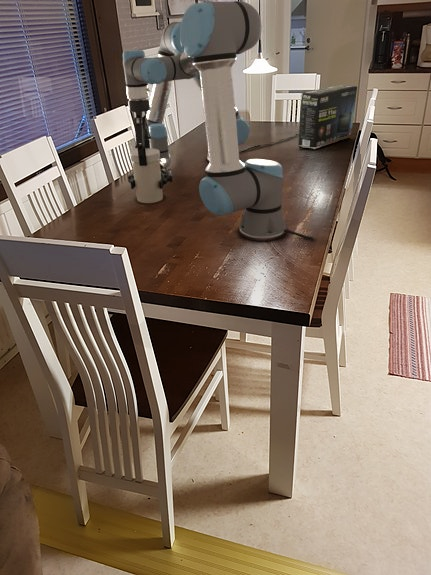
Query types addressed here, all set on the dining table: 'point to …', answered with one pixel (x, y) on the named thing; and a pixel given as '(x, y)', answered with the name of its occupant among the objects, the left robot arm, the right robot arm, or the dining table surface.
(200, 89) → the left robot arm
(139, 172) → the jar
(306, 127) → the router box
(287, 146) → the dining table surface
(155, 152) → the lid
